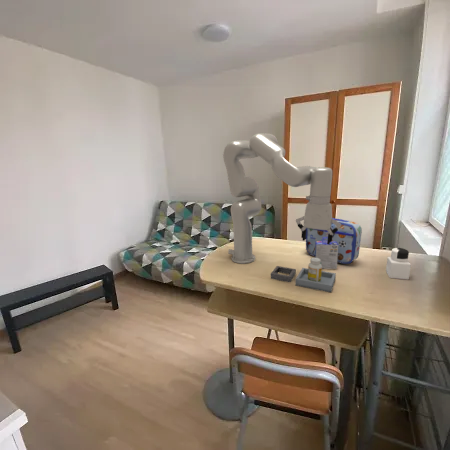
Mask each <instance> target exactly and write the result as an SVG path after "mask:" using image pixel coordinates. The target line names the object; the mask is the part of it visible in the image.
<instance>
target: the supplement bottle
mask: <svg viewBox="0 0 450 450" xmlns="http://www.w3.org/2000/svg"><path fill="white" fill-rule="evenodd" d="M309 262H310V263H308V266H307V269H308V280H310V281H315V282H321V273H322V271H323V270H322V265H321V264H320V263H321V260H320V259H319V258H315V257H312V258H311V257H310V260H309Z"/></svg>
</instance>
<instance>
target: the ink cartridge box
mask: <svg viewBox="0 0 450 450" xmlns="http://www.w3.org/2000/svg"><path fill="white" fill-rule="evenodd" d="M326 238H327V239H328V237H322V241H315V256H314V258H319V259H320V260H321V263H320V264H321V265H322V269H323V270H324V269H327V270H337V269H338V262H337V258H338V243H337V242H336V241H332V242H330V244H327V241H328V240H324V239H326Z"/></svg>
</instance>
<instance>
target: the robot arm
mask: <svg viewBox="0 0 450 450" xmlns="http://www.w3.org/2000/svg"><path fill="white" fill-rule="evenodd" d="M222 155H223V156H222V157H223V163H224V166H225V168H226V173H227V181H228V185H229V191H230V194H231V196H232V197H233V198H243V197H244V198H243V199H240V200H236V201H235V202H233V203H232V204H231V207H230V216H231V218H232V226H233V227H232V229H233V230H232V231H233V249H231V248H229V249H228V251H227V252H228V255H232V256H231V261H232V262H233V263H236V264H241V265H242V264H250V263H253V262H254V261H256V255H254V254H253V228H252V227H253V226H252V222H251V221H250V217H254V216H257V215H259V214H260V213H261V211H262V200H261V192H260V187H259V183H258V181H257V180H256V179H255V178H254V177H251V176H246V172H245V168H244V166H243V164H242V162H241V161H240V160H241V159H254V158H260V159H263V161H265V162H266V163H268V164H269V165H270V166H271V169H272V171H273V173H274V175H275V176H276V177H277V178H278V179H280V181H282V182H284V183H285V184H287V185H288V186H289V187H293V188H299V187H303V186H308V185H310V188H309V189H310V190H309V195H308V196H307V195H306V196H305V200H307V201H308V202H307V203H306V206H305V210H304V216H301V217H298V218H295V219H296V220H295V223H296V225H297V227H298V228H299V229H300V231H301V239H302V241H303V242H304V241H306V228H310V229H318V230H327V231H328V232H329V234H328V241H327V244H330V242H332V236H333V234H334V233H335V232H337V231H338V229H339V228H340V227H341V223H339V222H337V221H336V220H334V219H332V218H333V207H332V206H333V205H332V203H330V202H331V193H332V182H333V169H332V168H331V167H323V166H322V167H320V166H319V167H316V166H311V165H303V166H295V165H293V164H292V162H289V161H288V160H287V159H285V156H286V149H285V148H284V147H283V146H281V145H280V144H279V141H278V139H277V137H276V136H275V135H274V134H272V133H266V132H265V133H263V132H262V133H261V132H259V133H255V134H254V135H252V136H251V137H250V138H249V139H248V140H244V139H242V140H240V139H239V140H238V139H237V140H232V141H230V142H228V143H227V144H226V145H225V147H224V149H223V154H222ZM302 221H303V223H301V222H302ZM332 223H333V224H335V225H336V228H334V229H332V228H331V225H332Z"/></svg>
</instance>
